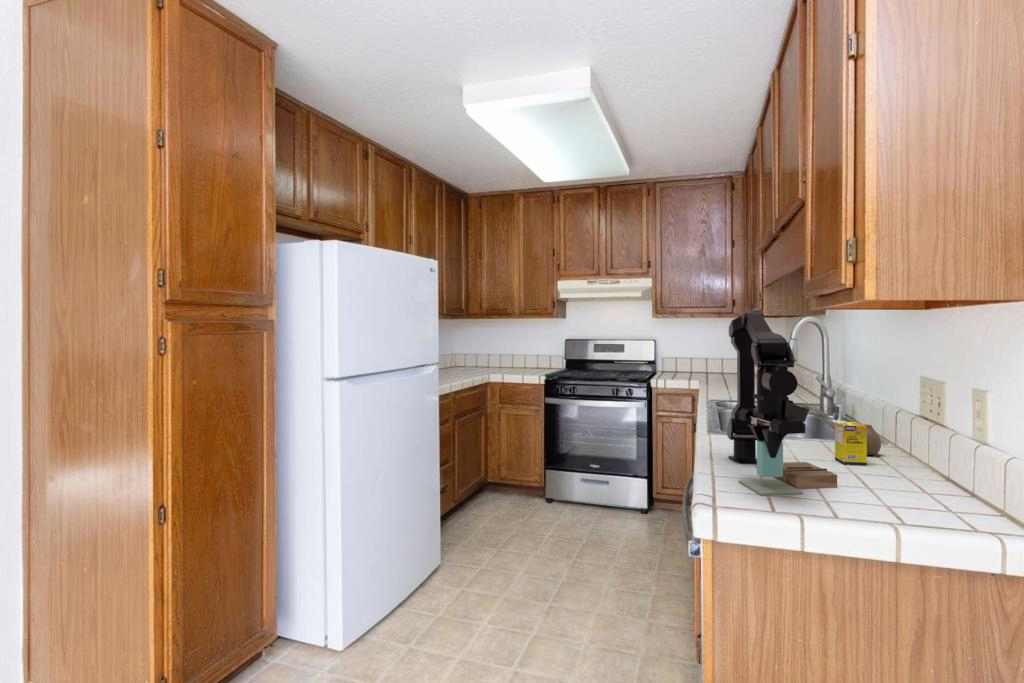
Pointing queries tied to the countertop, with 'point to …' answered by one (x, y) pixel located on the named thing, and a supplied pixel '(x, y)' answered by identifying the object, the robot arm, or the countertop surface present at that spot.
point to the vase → (872, 441)
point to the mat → (770, 487)
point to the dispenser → (807, 476)
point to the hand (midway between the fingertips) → (769, 456)
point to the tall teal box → (769, 461)
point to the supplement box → (851, 443)
